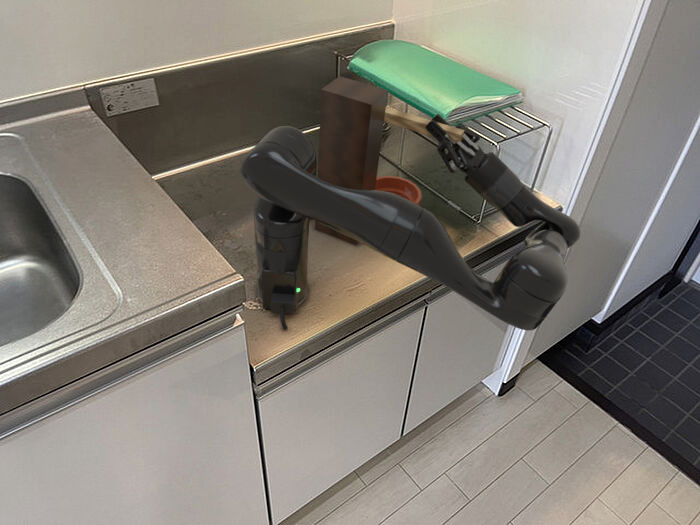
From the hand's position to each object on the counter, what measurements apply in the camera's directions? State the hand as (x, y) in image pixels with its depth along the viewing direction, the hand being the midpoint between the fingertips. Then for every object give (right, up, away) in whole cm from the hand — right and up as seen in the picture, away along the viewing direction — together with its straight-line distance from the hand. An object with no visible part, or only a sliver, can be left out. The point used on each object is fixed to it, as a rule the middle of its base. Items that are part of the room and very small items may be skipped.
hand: (431, 120), depth 106 cm
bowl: (-7, -16, +18) cm, 26 cm away
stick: (-5, 0, +3) cm, 6 cm away
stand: (-18, -20, +13) cm, 30 cm away
